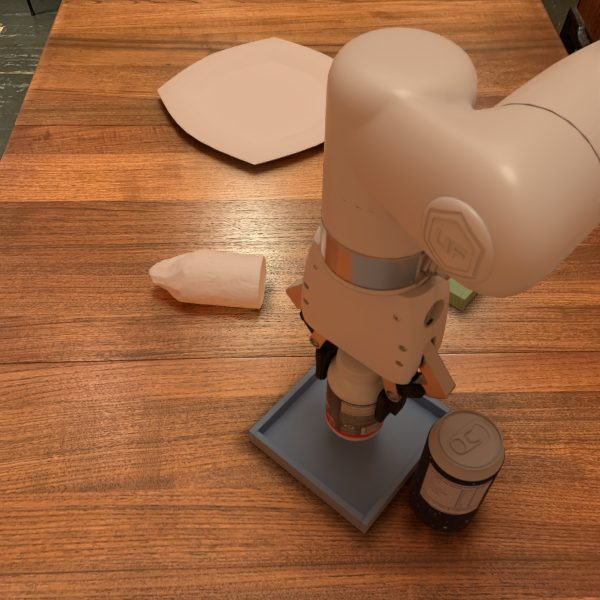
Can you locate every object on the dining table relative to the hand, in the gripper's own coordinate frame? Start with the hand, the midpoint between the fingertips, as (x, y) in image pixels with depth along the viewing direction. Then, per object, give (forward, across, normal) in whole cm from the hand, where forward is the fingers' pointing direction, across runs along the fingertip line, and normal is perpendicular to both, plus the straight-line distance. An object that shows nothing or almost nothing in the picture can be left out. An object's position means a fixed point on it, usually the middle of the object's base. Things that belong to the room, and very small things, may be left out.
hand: (358, 387), depth 55 cm
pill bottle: (+5, 0, 0) cm, 5 cm away
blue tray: (+8, 0, 0) cm, 8 cm away
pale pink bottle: (+8, +22, -3) cm, 24 cm away
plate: (+8, +41, -33) cm, 53 cm away
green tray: (+8, +6, -25) cm, 27 cm away
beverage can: (+8, -10, 0) cm, 13 cm away
